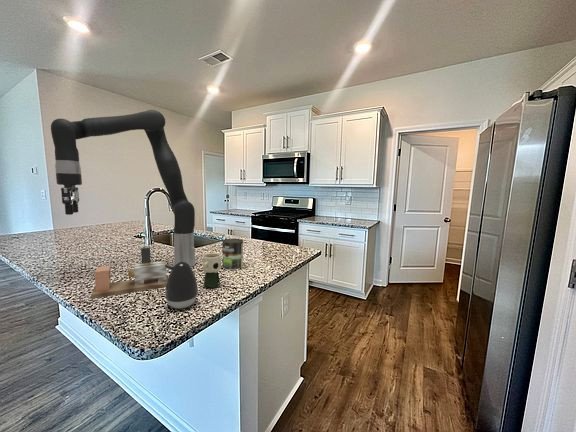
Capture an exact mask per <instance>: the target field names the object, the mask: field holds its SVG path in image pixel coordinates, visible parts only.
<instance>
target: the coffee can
mask: <svg viewBox="0 0 576 432" xmlns="http://www.w3.org/2000/svg"><path fill="white" fill-rule="evenodd" d="M221 242H222V257H221V262H222V267H221V269H222V268H223V269H222V270H224V269H225V270H224V271H227V270H236V269H240V268H242V266H243V264H244V263H243V262H244V261H243V258H244V256H243V255H244V254H243V253H244V247H243V246H244V239H240V238H224V239H222V240H221ZM242 269H243V268H242ZM240 270H241V269H240ZM236 271H237V270H236Z"/></svg>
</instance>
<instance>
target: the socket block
mask: <svg viewBox="0 0 576 432" xmlns="http://www.w3.org/2000/svg"><path fill="white" fill-rule="evenodd" d="M111 276H112V275H111V265H106V266H105V265H104V266H97V267H96V268H95V271H94V284H95V285H94V288H96V292H100V291H107V290H110V286H111V283H112V278H111Z"/></svg>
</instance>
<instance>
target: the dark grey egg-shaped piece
mask: <svg viewBox="0 0 576 432" xmlns="http://www.w3.org/2000/svg"><path fill="white" fill-rule="evenodd" d="M165 267H166V269H168V270H170V273H169V275H168V281H167V285H166V287H165V295H164V297H165V299H166V301H167V304H168V305H169V306H170V307H171V308H173V309H177V310H179V309H180V310H181V308H182V309H185V308H188V307H190V306H192V305H193V304H194V303H195V301H196V299H197V296H198V294H199V288H198V283H197V282H198V281H197V278H196V275H195V272H194V270H193V268H192V267H190V265H189V264H188V263H186V262H178V263H176V264H174V265H171V264H168V263H166V265H165Z"/></svg>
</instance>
